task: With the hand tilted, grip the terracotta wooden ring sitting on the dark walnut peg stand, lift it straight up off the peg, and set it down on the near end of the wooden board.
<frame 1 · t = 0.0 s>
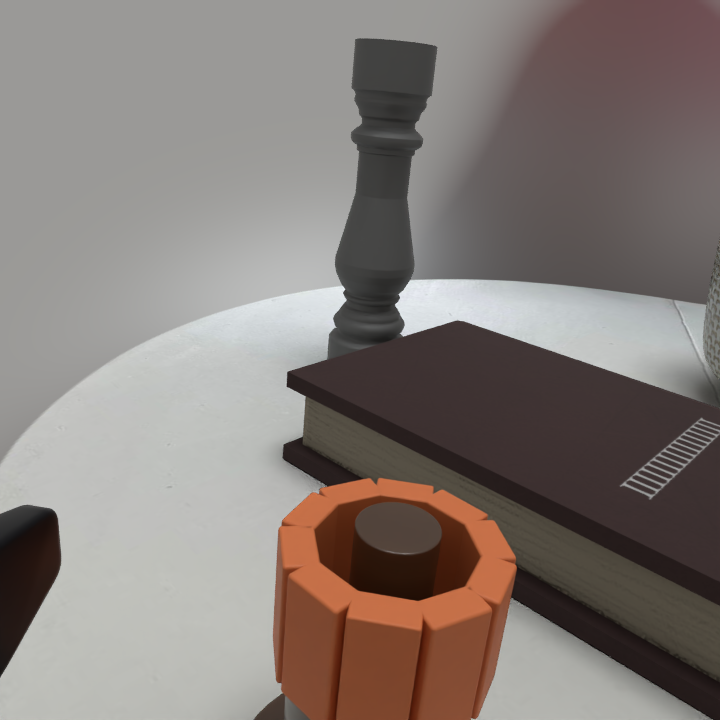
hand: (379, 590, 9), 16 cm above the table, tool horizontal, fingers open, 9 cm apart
book: (558, 502, 41), on the table
candle holder: (363, 377, 57), on the table
ring: (382, 652, 20), point 6 cm above the table, touching peg stand
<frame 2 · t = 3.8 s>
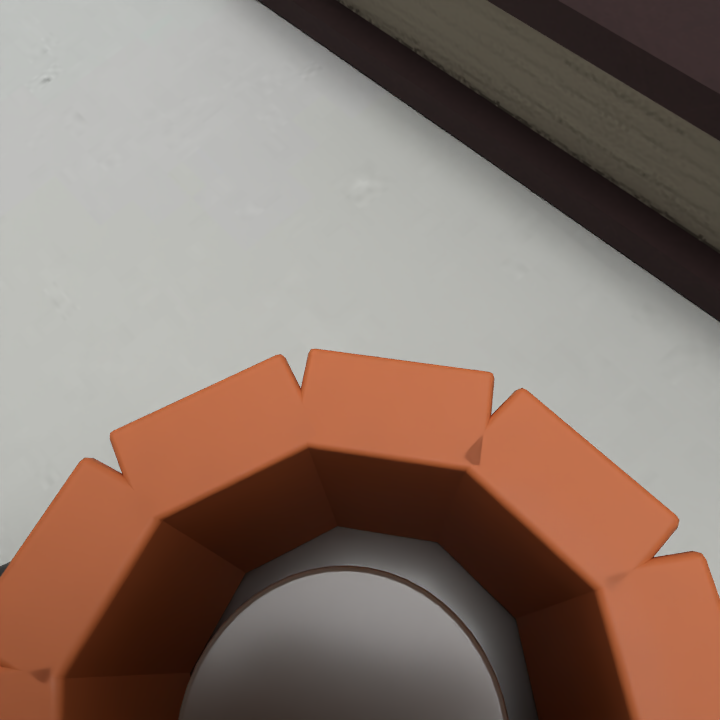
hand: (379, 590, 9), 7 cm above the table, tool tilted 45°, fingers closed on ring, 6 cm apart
ring: (362, 704, 9), point 7 cm above the table, touching gripper, peg stand
peg stand: (373, 688, 15), on the table
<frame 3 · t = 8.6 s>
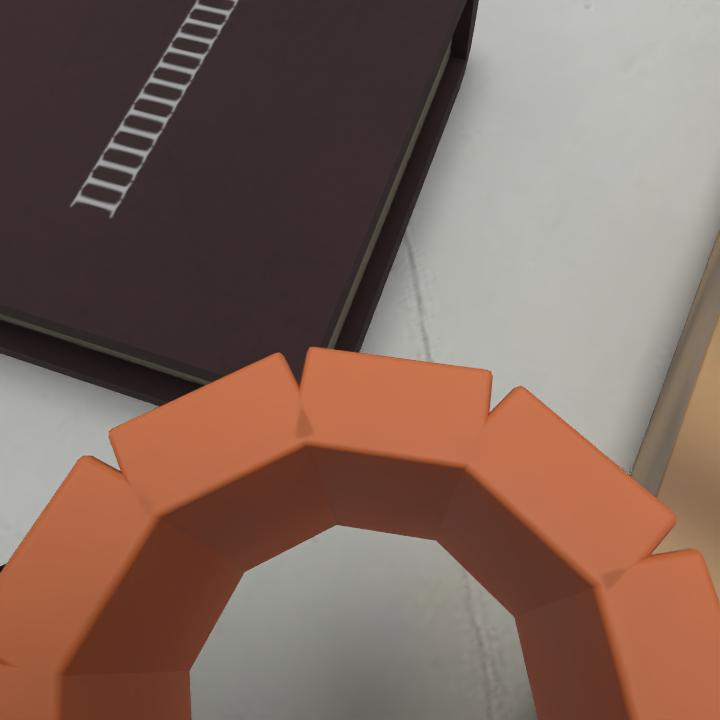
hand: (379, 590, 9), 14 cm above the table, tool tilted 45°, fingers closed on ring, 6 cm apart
book: (96, 152, 30), on the table
ring: (361, 702, 9), point 13 cm above the table, touching gripper
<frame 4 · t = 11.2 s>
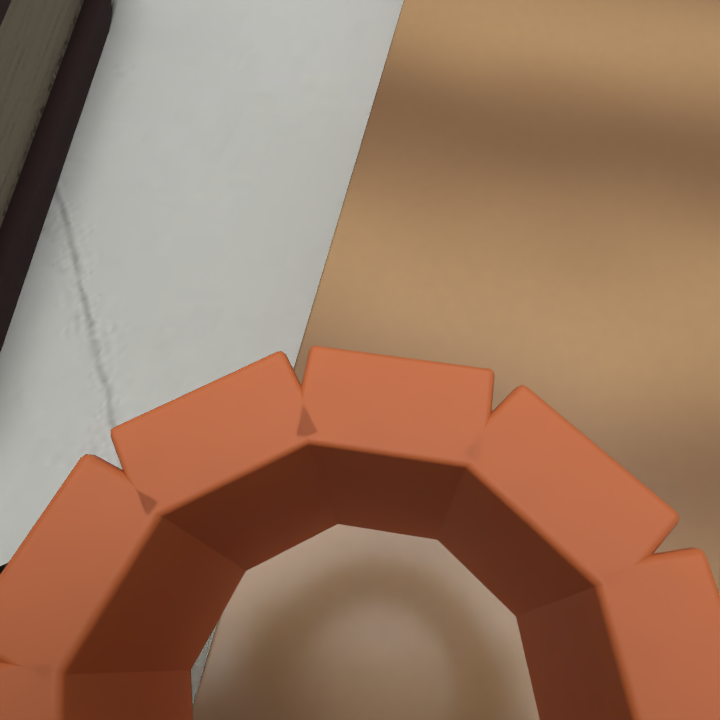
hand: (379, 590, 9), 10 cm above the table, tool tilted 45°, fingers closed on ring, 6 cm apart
ring: (362, 701, 9), point 9 cm above the table, touching gripper
wooden board: (517, 242, 22), on the table
when the fingers open (5 cm above the table, at t = 13.3 s): ring stays where it is, resting on wooden board.
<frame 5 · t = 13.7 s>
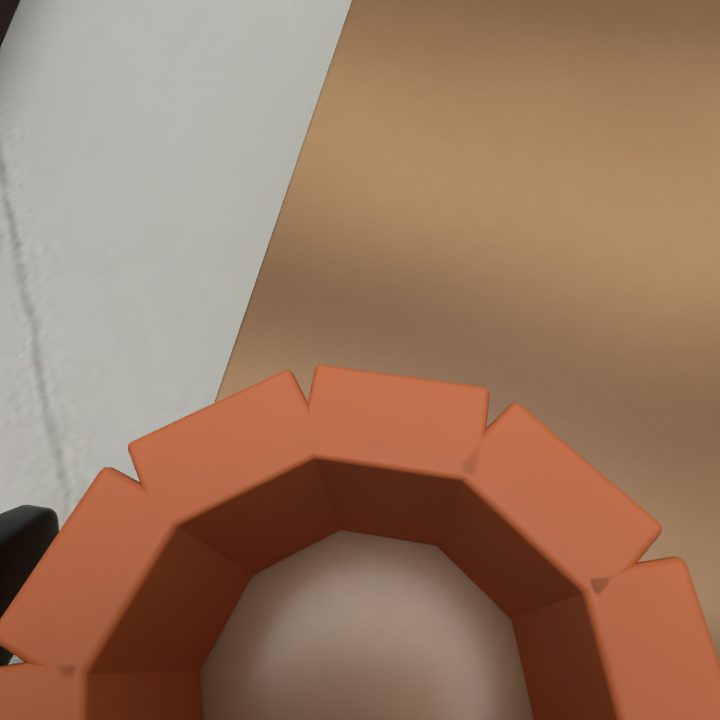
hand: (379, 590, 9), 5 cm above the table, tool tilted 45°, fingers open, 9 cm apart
ring: (364, 700, 9), point 4 cm above the table, touching wooden board
wooden board: (547, 146, 18), on the table
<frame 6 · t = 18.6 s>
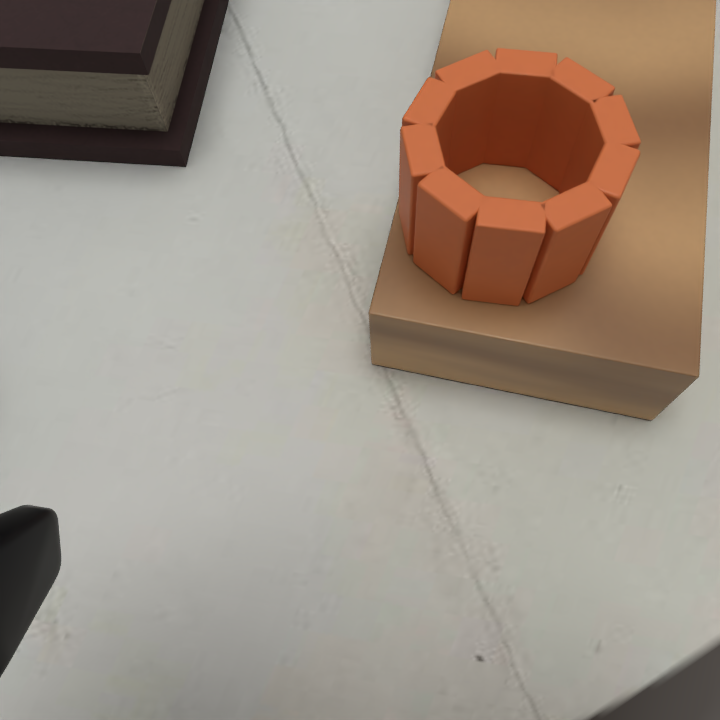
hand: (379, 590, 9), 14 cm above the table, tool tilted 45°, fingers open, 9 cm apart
ring: (498, 219, 23), point 4 cm above the table, touching wooden board
wooden board: (566, 33, 31), on the table
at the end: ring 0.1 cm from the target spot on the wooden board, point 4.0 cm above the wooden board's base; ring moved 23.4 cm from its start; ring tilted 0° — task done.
